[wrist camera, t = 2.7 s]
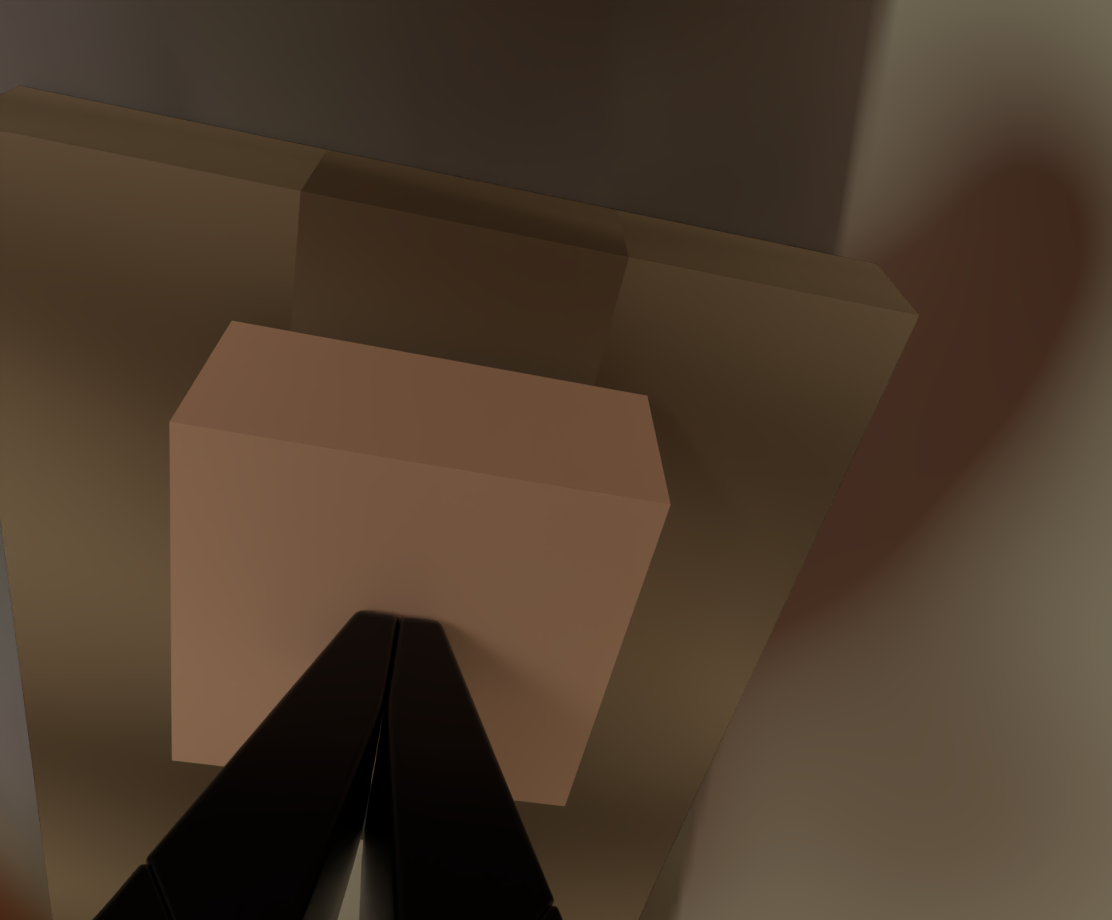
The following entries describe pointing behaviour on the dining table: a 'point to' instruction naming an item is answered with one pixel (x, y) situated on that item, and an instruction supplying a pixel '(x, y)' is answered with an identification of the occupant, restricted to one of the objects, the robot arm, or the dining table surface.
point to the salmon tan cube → (405, 535)
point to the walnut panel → (415, 327)
